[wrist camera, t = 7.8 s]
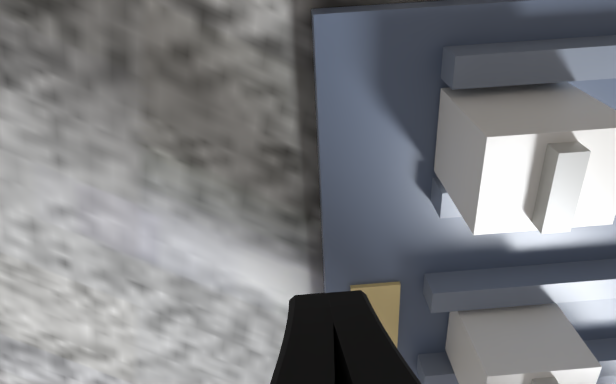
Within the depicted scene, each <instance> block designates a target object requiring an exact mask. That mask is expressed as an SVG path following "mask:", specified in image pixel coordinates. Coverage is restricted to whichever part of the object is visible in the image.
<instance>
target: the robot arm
mask: <svg viewBox="0 0 616 384" xmlns="http://www.w3.org/2000/svg"><path fill="white" fill-rule="evenodd" d="M270 384H421V382H420V381H419V379H418V378H417V377H416V375H415V374H414V372H413V371H412V370H411V368H410V367H409V365H408V364H407V362H406V361H405V360H404V358H403V357H402V355H401V354H400V352H399V351H398V349H397V348H396V346H395V344H394V343H393V341H392V340H391V338H390V336H389V335H388V333H387V332H386V330H385V328H384V327H383V325H382V323H381V322H380V320H379V318H378V316H377V315H376V313H375V311H374V309H373V307H372V305H371V303H370V301H369V299H368V297H367V295H366V294H365V293H364V292H362V291H361V290H355V291H343V292H330V293H318V294H305V295H295V296H294V297H293V298H292V299H290V300H289V312H288V319H287V325H286V330H285V334H284V338H283V342H282V346H281V350H280V354H279V357H278V361H277V364H276V367H275V370H274V373H273V376H272V380H271V383H270Z"/></svg>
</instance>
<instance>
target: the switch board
mask: <svg viewBox="0 0 616 384" xmlns="http://www.w3.org/2000/svg"><path fill="white" fill-rule="evenodd" d="M311 15H312V37H313V58H314V80H315V102H316V123H317V145H318V166H319V188H320V209H321V231H322V252H323V274H324V293H330V292H343V291H355V290H361V291H362V292H364V293H365V294H366V295H367V297H368V299H369V301H370V303H371V305H372V307H373V309H374V311H375V313H376V315H377V316H378V318H379V320H380V322H381V323H382V325H383V327H384V328H385V330H386V332H387V333H388V335H389V336H390V338H391V340H392V341H393V343H394V344H395V346H396V348H397V349H398V351H399V352H400V354H401V355H402V357H403V358H404V360H405V361H406V362H407V364H408V365H409V367H410V368H411V370H412V371H413V372H414V374H415V375H416V377H417V378H418V379H419V381H420V382H421V384H459V383H458V381H457V378H456V376H455V373H454V371H453V368H452V365H451V363H450V360H449V358H448V355H447V353H446V350H445V346H446V338H447V330H448V321H449V313H450V312H453V311H465V310H477V309H490V308H502V307H514V306H526V305H539V304H551V303H556V304H557V305H558V306H559V308H560V309H561V311H562V312H563V313H564V315H565V316H566V318H567V319H568V320H569V322H570V323H571V324H572V326H573V327H574V329H575V330H576V331H577V333H578V334H579V336H580V337H581V338H582V340H583V341H584V343H585V344H586V345H587V347H588V348H589V349H590V351H591V352H592V354H593V355H594V356H595V358H596V359H597V361H598V362H599V363H600V365H601V366H602V368H601V371H600V374H599V377H598V380H597V383H596V384H616V215H615V218H614V221H613V224H611V225H599V226H586V227H573V228H571V232H562V233H549V234H541V233H540V232H539V231H538V230H534V231H521V232H508V233H496V234H483V235H473V233H472V232H471V230H470V229H469V227H468V225H467V224H466V222H465V220H464V219H463V217H462V216H461V214H460V212H459V211H458V209H457V207H456V206H455V204H454V203H453V201H452V199H451V198H450V196H449V194H448V193H447V191H446V190H445V188H444V186H443V185H442V183H441V181H440V180H439V178H438V177H437V175H436V173H435V172H434V164H435V152H436V140H437V128H438V116H439V104H440V92H441V88H449V87H450V88H451V89H452V90H456V89H470V88H485V87H499V86H513V85H527V84H542V83H556V82H568V83H569V84H571V85H573V86H575V87H576V88H578V89H580V90H582V91H583V92H585V93H587V94H588V95H590V96H592V97H594V98H595V99H597V100H599V101H600V102H602V103H604V104H606V105H607V106H609V107H611V108H612V109H614V110H616V0H440V1H425V2H409V3H394V4H379V5H363V6H348V7H333V8H317V9H311Z"/></svg>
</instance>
